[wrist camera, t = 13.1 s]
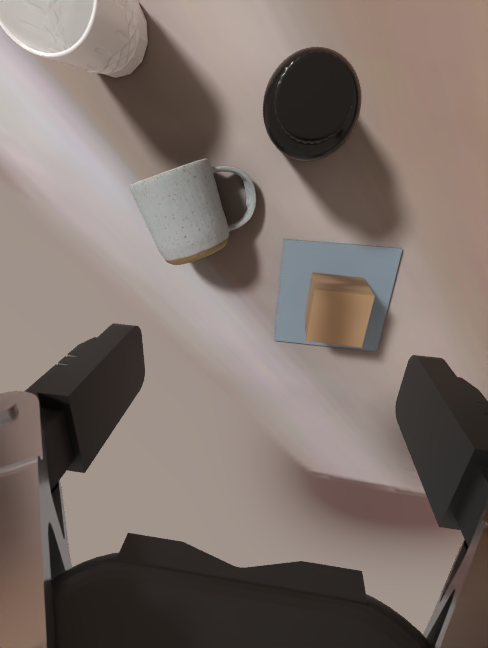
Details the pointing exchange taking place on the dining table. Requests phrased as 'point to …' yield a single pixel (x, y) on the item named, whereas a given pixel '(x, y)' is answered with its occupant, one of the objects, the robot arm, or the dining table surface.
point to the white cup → (80, 32)
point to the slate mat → (336, 260)
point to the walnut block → (338, 309)
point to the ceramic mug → (188, 210)
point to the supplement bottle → (312, 103)
